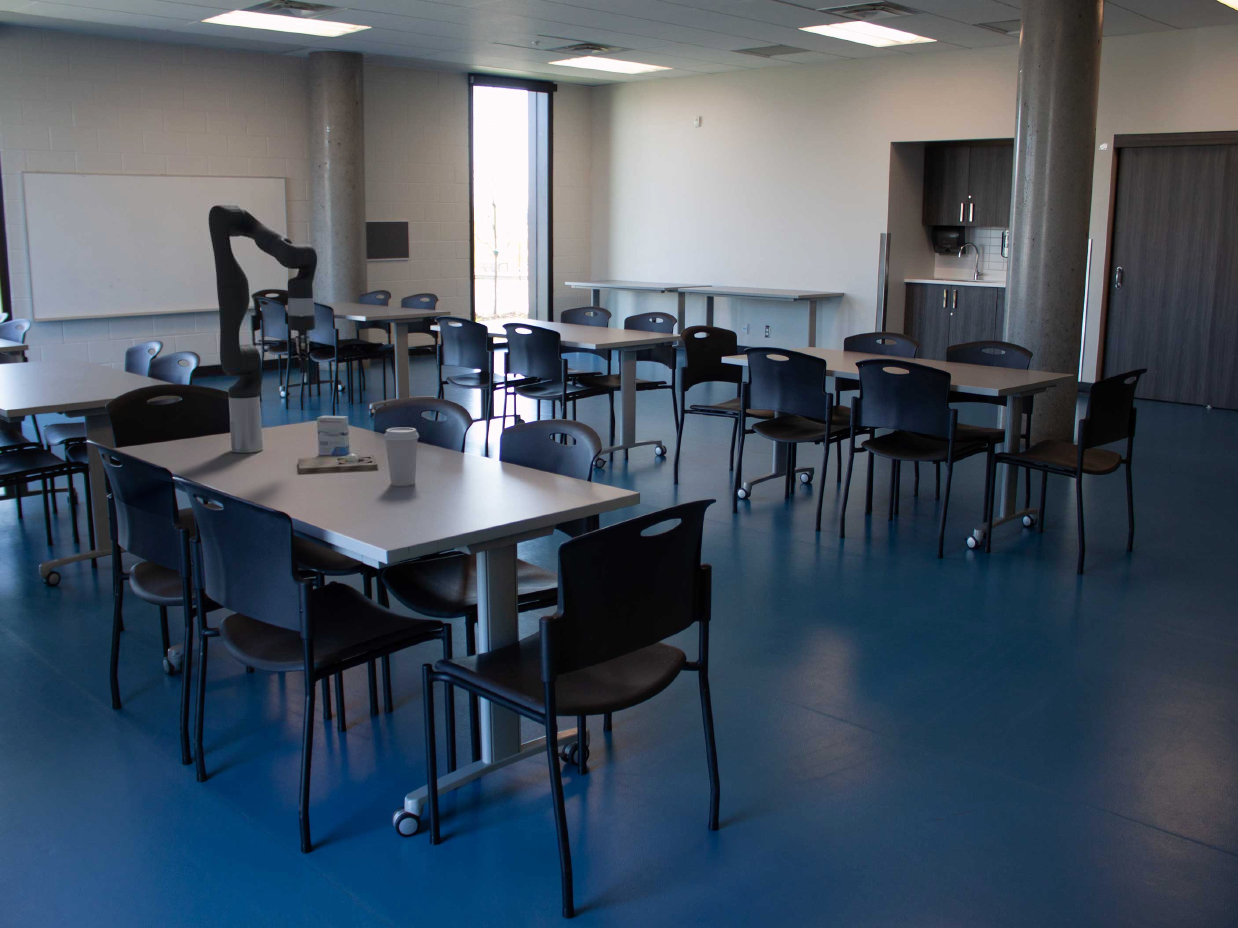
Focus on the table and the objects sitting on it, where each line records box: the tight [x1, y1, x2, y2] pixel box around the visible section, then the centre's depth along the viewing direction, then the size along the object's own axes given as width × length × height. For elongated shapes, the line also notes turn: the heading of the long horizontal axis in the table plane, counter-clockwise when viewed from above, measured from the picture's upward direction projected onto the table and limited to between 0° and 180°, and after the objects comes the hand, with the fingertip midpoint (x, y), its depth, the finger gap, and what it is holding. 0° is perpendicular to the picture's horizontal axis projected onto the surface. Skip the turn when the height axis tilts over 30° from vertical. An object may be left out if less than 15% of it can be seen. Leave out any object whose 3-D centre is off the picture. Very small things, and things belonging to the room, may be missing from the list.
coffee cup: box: [383, 426, 420, 487], centre depth 297 cm, size 10×10×15 cm
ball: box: [346, 453, 358, 463], centre depth 321 cm, size 4×4×4 cm
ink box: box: [316, 415, 350, 456], centre depth 338 cm, size 8×5×12 cm, turn 84°
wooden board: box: [297, 454, 379, 474], centre depth 320 cm, size 22×15×2 cm
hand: (304, 372), depth 322 cm, fingers closed
